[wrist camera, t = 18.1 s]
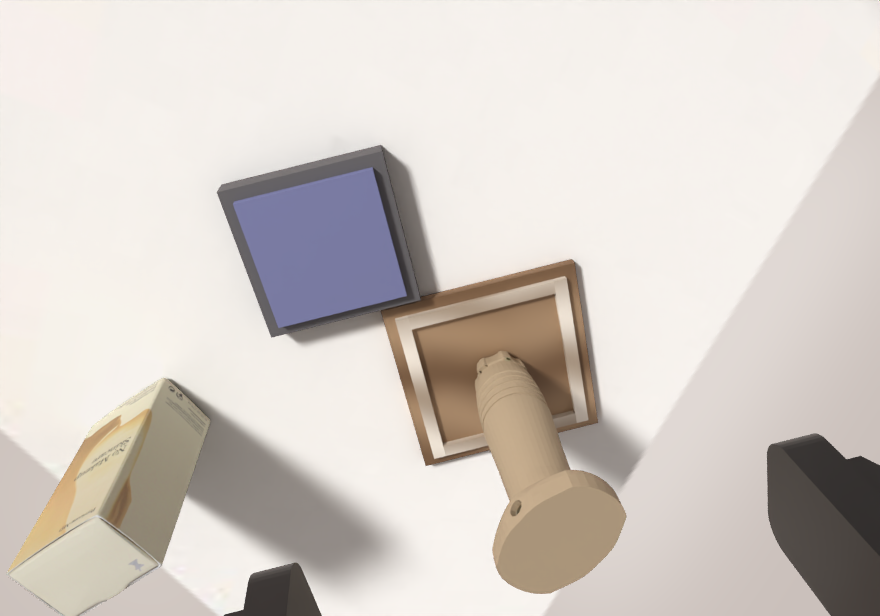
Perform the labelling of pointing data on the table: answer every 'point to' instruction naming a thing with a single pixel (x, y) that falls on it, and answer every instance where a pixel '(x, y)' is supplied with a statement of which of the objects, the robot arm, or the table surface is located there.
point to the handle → (540, 486)
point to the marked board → (490, 353)
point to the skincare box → (114, 503)
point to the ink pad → (321, 240)
